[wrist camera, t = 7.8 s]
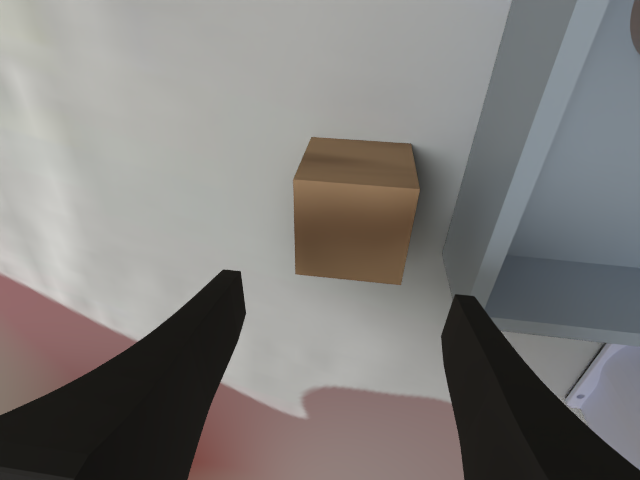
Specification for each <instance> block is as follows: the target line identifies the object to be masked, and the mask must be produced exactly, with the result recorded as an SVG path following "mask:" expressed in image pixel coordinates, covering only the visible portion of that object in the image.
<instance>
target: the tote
mask: <svg viewBox="0 0 640 480" xmlns="http://www.w3.org/2000/svg"><path fill="white" fill-rule="evenodd" d="M633 4H634V0H512V4H511V8H510V11H509V15H508V18H507V22H506V26H505V29H504V33H503V36H502V40H501V44H500V47H499V51H498V54H497V58H496V62H495V65H494V69H493V72H492V76H491V80H490V83H489V87H488V90H487V94H486V98H485V101H484V105H483V108H482V112H481V116H480V119H479V123H478V126H477V130H476V134H475V137H474V141H473V144H472V148H471V152H470V155H469V159H468V163H467V166H466V170H465V173H464V177H463V181H462V184H461V188H460V191H459V195H458V199H457V202H456V206H455V209H454V213H453V217H452V220H451V224H450V227H449V231H448V235H447V238H446V242H445V245H444V249H443V253H442V256H443V260H444V264H445V269H446V273H447V277H448V281H449V286H450V290H451V294H452V298H453V299H454V296H455V294H460V295H469V296H475V298H476V299H477V300H478V302H479V303H480V304H481V306H482V307H483V308H484V310H485V311H486V312H487V314H488V315H489V317H490V318H491V319H492V321H493V322H494V323H495V325H496V326H497V327H498V329H499V330H500V331H506V332H515V333H524V334H533V335H541V336H550V337H559V338H568V339H576V340H585V341H594V342H602V343H611V344H620V345H629V346H637V347H640V54H639V53H638V52H637V50H636V49H635V47H634V45H633V42H632V38H631V32H630V18H631V12H632V7H633Z"/></svg>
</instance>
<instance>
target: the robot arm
mask: <svg viewBox="0 0 640 480" xmlns="http://www.w3.org/2000/svg"><path fill="white" fill-rule="evenodd" d="M245 315H246V309H245V302H244V294H243V286H242V278H241V271H233V270H222V271H221V272H220V273H219V274H218V275H217V276H216V277H215V278H213V279H212V280H211V281H210V282H209V283H208V284H207V285H206V286H205V287H204V288H203V289H202V290H201V291H200V292H198V293H197V294H196V295H195V296H194V297H193V298H192V299H191V300H190V301H188V302H187V303H186V304H185V305H184V306H183V307H182V308H180V309H179V310H178V311H177V312H176V313H175V314H173V315H172V316H171V317H170V318H168V319H167V320H166V321H165V322H164V323H162V324H161V325H160V326H159V327H157V328H156V329H155V330H153V331H152V332H151V333H149V334H148V335H147V336H145V337H144V338H143V339H141V340H140V341H138V342H137V343H136V344H134V345H133V346H131V347H130V348H128V349H127V350H125V351H124V352H122V353H121V354H119V355H117V356H116V357H114V358H112V359H111V360H109V361H107V362H106V363H104V364H102V365H101V366H99V367H97V368H96V369H94V370H92V371H91V372H89V373H87V374H85V375H83V376H82V377H80V378H78V379H76V380H74V381H72V382H71V383H68V384H66V385H65V386H63V387H61V388H59V389H57V390H55V391H53V392H51V393H49V394H47V395H45V396H43V397H40V398H38V399H36V400H34V401H31V402H29V403H27V404H25V405H23V406H21V407H18V408H16V409H14V410H12V411H10V412H7V413H5V414H2V415H0V480H187V479H188V476H189V472H190V468H191V465H192V462H193V459H194V455H195V452H196V449H197V445H198V442H199V439H200V436H201V432H202V429H203V426H204V423H205V420H206V417H207V414H208V411H209V408H210V405H211V403H212V400H213V398H214V395H215V393H216V391H217V388H218V386H219V384H220V382H221V379H222V377H223V375H224V372H225V370H226V368H227V365H228V363H229V361H230V358H231V356H232V354H233V351H234V349H235V347H236V344H237V342H238V339H239V336H240V333H241V329H242V326H243V322H244V319H245ZM441 339H442V352H443V362H444V369H445V374H446V378H447V383H448V388H449V392H450V397H451V402H452V406H453V411H454V415H455V420H456V425H457V429H458V434H459V440H460V446H461V454H462V462H463V471H464V479H465V480H640V347H637V346H629V345H620V344H611V343H606V345H605V346H604V347H603V349H602V350H601V352H600V353H599V354H598V356H597V357H596V358H595V360H594V361H593V362H592V364H591V365H590V367H589V368H588V369H587V371H586V372H585V373H584V375H583V376H582V377H581V379H580V380H579V382H578V383H577V384H576V386H575V387H574V388H573V390H572V391H571V392H570V394H569V395H568V396H567V398H566V399H565V401H566V404H567V406H569V407H572V408H579V409H581V411H582V413H583V415H584V417H585V420H586V422H587V424H588V426H589V427H588V426H587V425H586V424H585V423H583V422H582V421H581V420H580V419H579V418H578V417H577V416H576V415H575V414H574V413H573V412H572V411H571V410H570V409H569V408H568V407H567V406H566V405H565V404H564V403H563V402H562V401H561V400H560V399H559V398H558V397H557V396H556V395H555V394H554V393H553V392H552V391H551V390H550V389H549V388H548V387H547V386H546V385H545V384H544V383H543V382H542V381H541V380H540V379H539V378H538V376H537V375H536V374H535V373H534V372H533V371H532V370H531V369H530V367H529V366H528V365H527V364H526V363H525V362H524V360H523V359H522V358H521V357H520V356H519V354H518V353H517V352H516V351H515V349H514V348H513V347H512V346H511V344H510V343H509V342H508V340H507V339H506V338H505V337H504V335H503V334H502V333H501V331H500V330H499V329H498V327H497V326H496V325H495V323H494V322H493V321H492V319H491V318H490V317H489V315H488V314H487V312H486V311H485V310H484V308H483V307H482V306H481V304H480V303H479V302H478V300H477V299H476V298H475V296H469V295H460V294H455V296H454V299H453V302H452V305H451V308H450V311H449V314H448V317H447V320H446V323H445V326H444V329H443V332H442V335H441Z"/></svg>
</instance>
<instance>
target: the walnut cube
mask: <svg viewBox="0 0 640 480" xmlns="http://www.w3.org/2000/svg"><path fill="white" fill-rule="evenodd" d="M293 188H294V231H295V274H298V275H308V276H318V277H328V278H337V279H347V280H357V281H367V282H376V283H386V284H396V285H401V282H402V277H403V272H404V267H405V262H406V257H407V252H408V247H409V242H410V237H411V232H412V227H413V222H414V217H415V212H416V207H417V202H418V197H419V192H420V187H419V182H418V177H417V172H416V167H415V162H414V157H413V152H412V147H411V144H408V143H393V142H378V141H363V140H347V139H332V138H317V137H311V139H310V142H309V144H308V146H307V149H306V151H305V153H304V156H303V158H302V160H301V163H300V165H299V167H298V170H297V172H296V174H295V177H294V179H293Z"/></svg>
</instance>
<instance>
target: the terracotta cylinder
mask: <svg viewBox="0 0 640 480" xmlns="http://www.w3.org/2000/svg"><path fill="white" fill-rule="evenodd" d="M630 32H631V38H632V42H633V45H634V47H635V49H636V50H637V52H638V53H639V54H640V0H634V4H633V7H632V12H631V18H630Z"/></svg>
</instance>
